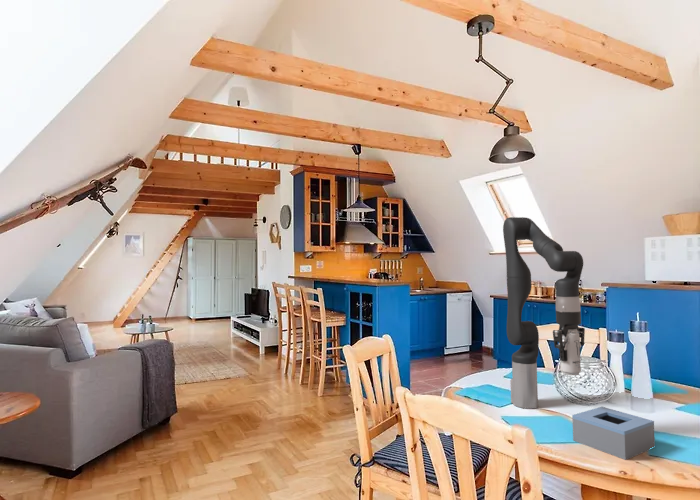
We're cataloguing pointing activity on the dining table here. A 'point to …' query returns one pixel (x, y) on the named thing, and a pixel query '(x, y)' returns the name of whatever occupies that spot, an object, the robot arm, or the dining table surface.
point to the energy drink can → (572, 354)
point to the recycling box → (613, 432)
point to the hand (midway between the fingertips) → (570, 359)
